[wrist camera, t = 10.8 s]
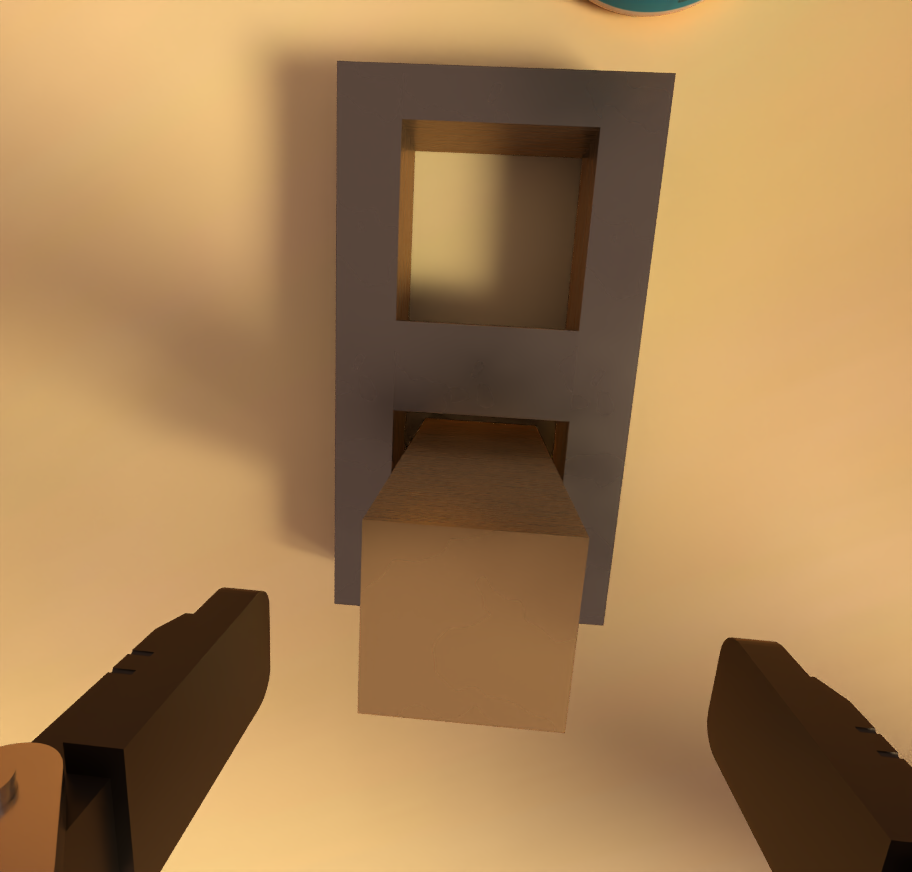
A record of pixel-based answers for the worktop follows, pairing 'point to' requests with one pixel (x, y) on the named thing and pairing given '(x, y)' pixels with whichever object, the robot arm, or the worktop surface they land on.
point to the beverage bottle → (646, 6)
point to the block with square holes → (484, 346)
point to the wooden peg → (471, 581)
